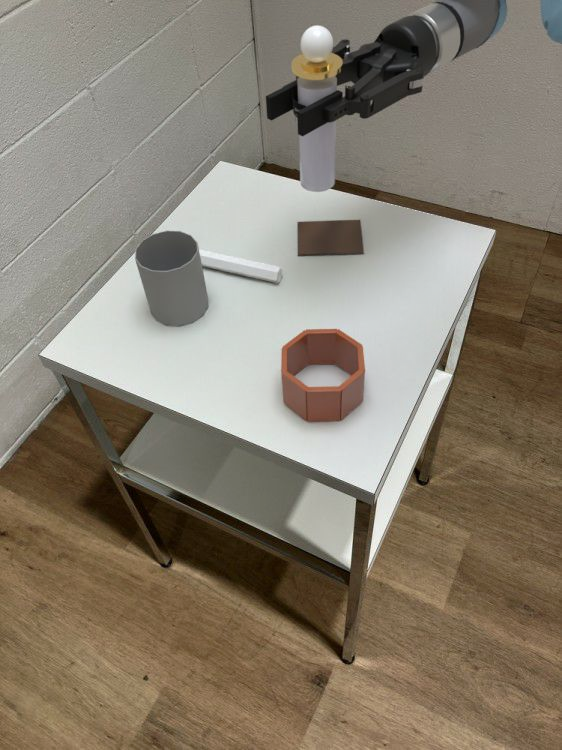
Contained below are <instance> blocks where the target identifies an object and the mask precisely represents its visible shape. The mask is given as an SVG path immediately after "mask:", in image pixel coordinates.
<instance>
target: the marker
mask: <svg viewBox="0 0 562 750" xmlns="http://www.w3.org/2000/svg"><path fill="white" fill-rule="evenodd" d="M199 253H200V258H201V263H202V268H203V267H204V268H207V269H212V270H216V271H220V272H221V271H222V272H226V273H230V274H234V275H239V276H244V277H249V278H252V279H257V280H261V281H264V282H265V281H266V282H270V283H274V284H280V282H281V279H282V278H283V277H282V276H283V268H282V267H281V266H278V265H273V264H268V263H263V262H260V261H254V260H249V259H245V258H241V257H236V256H232V255H227V254H222V253H218V252H213V251H208V250H204V249H200V248H199Z"/></svg>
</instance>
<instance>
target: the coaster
mask: <svg viewBox="0 0 562 750" xmlns="http://www.w3.org/2000/svg"><path fill="white" fill-rule="evenodd" d="M364 254H365V251H364V240H363V232H362V222H361V219H340V220H339V219H338V220H314V221H313V220H310V221H309V220H307V221H297V256H298V257H311V256H312V257H314V256H315V257H317V256H343V255H345V256H347V255H364Z"/></svg>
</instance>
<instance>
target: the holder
mask: <svg viewBox="0 0 562 750" xmlns="http://www.w3.org/2000/svg"><path fill="white" fill-rule="evenodd" d="M280 359H281V361H280V362H281V363H280V365H281V366H280V373H281V374H280V376H281V386H282V387H281V388H282V401H283V404H284V406H286V407H287V408H289V409H290V410H291V411H293V412H294V414H296V415H298V416H299V417H300V418H301V419H303V420H304V421H305V422H307V423H319V422H320V423H321V422H322V423H324V422H341V421H343V420H344V419H345V418H346V417H348V415H350V414H351V413H352V412H353V411H354V410H355V409H356V408H358V407H359V406H360V405H361V404H362V403H363V400H364V389H365V387H364V386H365V378H366V377H365V376H366V365H365V354H364V346H363V344H362V343H361V342H359V341H357V340H356V339H354V338H353V337H352V336H350V335H348V334H346V333H345V332H343V331H342V330H341V329H340V328H312V329H308V328H307V329H304V330H302V331H301V332H300V333H298V334H297V335H296V336H294V337H293V338H292V339H290V340H289V341H288V342H286V343H285V344H284V345H282V347H281V358H280ZM311 365H312V366H313V365H314V366H316V365H335V366H337V367H339V368H340V369H341V370H342V371H344V372H345V373H347V374H348V375H350V376H349V377H348V378H347V379H346V380H345V381H343V382H342V383H341V384H340V385H337V386H334V385H333V386H308V385H306V384H305V383H304V382H302V381H301V380H299V379H298V378H297V377H296V375H297V374H299V373H300V372H301V371H302V370H303V369H305V368H306V367H307V366H311Z"/></svg>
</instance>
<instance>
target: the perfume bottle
mask: <svg viewBox="0 0 562 750" xmlns="http://www.w3.org/2000/svg"><path fill="white" fill-rule="evenodd" d="M333 47H334V37H333V35H332V33H331V32H330V30H329V29H328V28H326V27H325V26H323V25H319V24H316V25H315V24H314V25H312V26H309V27H308V28H307V29H306V30H305V31H304V32H303V34H302V36H301V38H300V51H301V54H299V55H297V56H295V57H294V58H293V59H292V61H291V65H290V66H291V72H292V73H293V75H295V77H296V76H298V77H299V78H298V80H297V86H298V102H296V101H295V100H294V99H293V110H292V112H293V115H294V117H295V118H297V111H299V110H301V109H303V108H305V107H307V106H309V105H311V104H312V103H314V102H316V101H318V100H320V99H322V98H324V97H326V96H328V95H330V94H332V93H333V92H335V91H337V90H338V86H337V78H336V77H335V76H336V75H337V74H339V73H340V72H341V71H342V68H343V61H342V59H341V58H340V57H339V56H338V55H336V54H333V53H332V50H333ZM294 84H295V83H294ZM292 86H293V85H292ZM292 94H293V90H292ZM294 106H295V107H294ZM298 142H299V143H298V146H299V147H298V148H299V149H298V150H299V152H298V153H299V180H300V181H299V182H300V186H301V188H303V189H304V190H306V191H308V192H313V193H321V192H326V191H329V190H331V189H332V188H333V187H334V186H335V184H336V155H337V154H336V149H337V147H336V145H337V120H336V121H334V122H330V123H329V122H328V123H326V124H324V125H322V126H321V127H319V128H317V129H315V130H313V131H312V132H310V133H308V134H306V135H304V136H303V137H302V136H300V135H299V134H298Z"/></svg>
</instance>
